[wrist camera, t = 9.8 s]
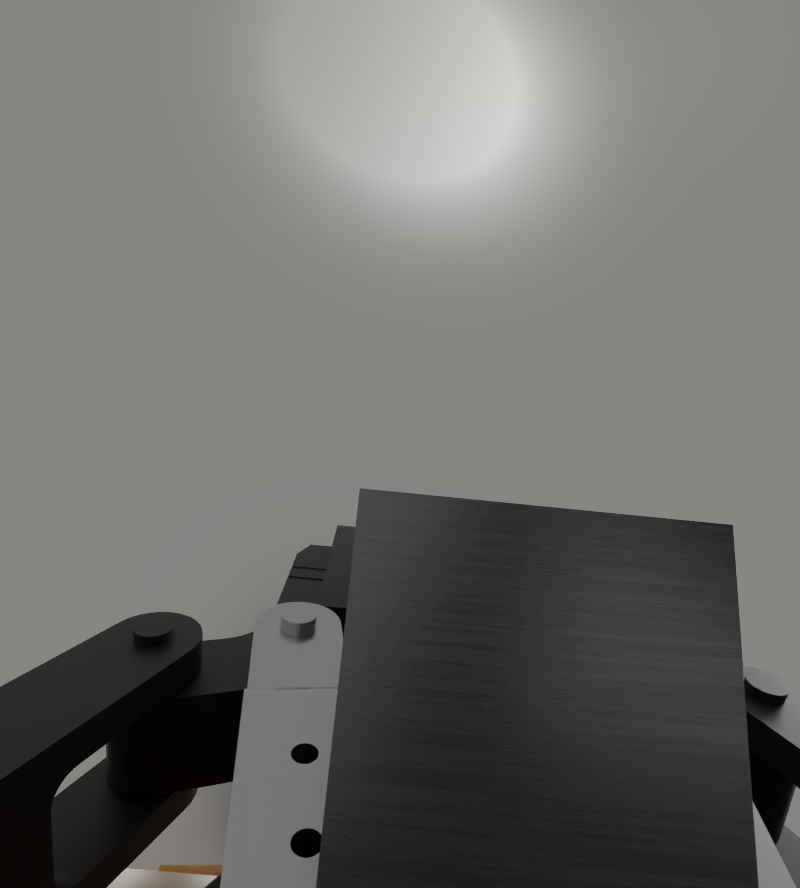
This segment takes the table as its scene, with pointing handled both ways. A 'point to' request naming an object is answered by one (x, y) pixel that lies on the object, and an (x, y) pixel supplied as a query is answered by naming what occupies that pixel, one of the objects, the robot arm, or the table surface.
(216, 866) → the diary
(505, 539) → the bar
